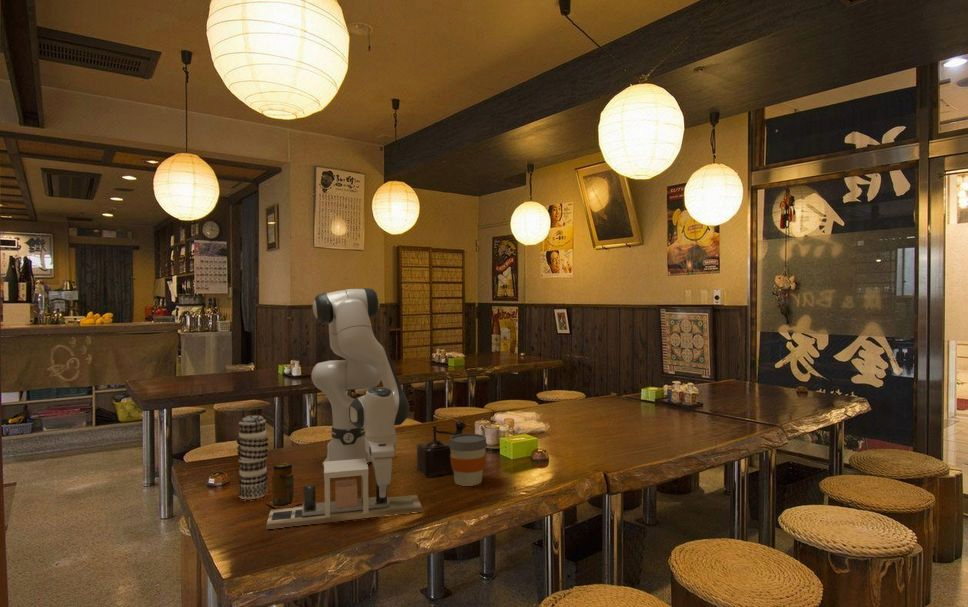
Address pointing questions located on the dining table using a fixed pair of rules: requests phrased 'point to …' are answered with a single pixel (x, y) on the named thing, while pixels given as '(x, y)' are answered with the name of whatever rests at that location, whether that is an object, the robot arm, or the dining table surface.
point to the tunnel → (345, 470)
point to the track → (341, 513)
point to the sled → (341, 499)
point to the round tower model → (252, 457)
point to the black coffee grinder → (436, 454)
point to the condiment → (282, 484)
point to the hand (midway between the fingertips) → (381, 491)
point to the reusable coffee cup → (468, 458)
